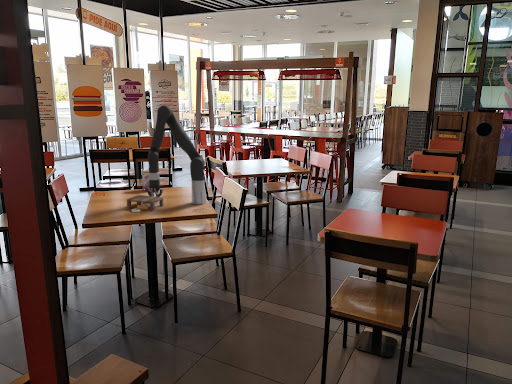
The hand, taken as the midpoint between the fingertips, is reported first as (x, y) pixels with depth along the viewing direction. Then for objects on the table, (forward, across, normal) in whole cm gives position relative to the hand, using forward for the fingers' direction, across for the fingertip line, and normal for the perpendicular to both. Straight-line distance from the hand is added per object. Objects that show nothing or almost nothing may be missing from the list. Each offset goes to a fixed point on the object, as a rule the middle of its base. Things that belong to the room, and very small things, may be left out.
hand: (155, 201), depth 292 cm
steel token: (+1, +1, +24) cm, 24 cm away
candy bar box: (+1, +24, -34) cm, 41 cm away
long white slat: (+1, 0, +5) cm, 5 cm away
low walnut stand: (+1, 0, +13) cm, 13 cm away
